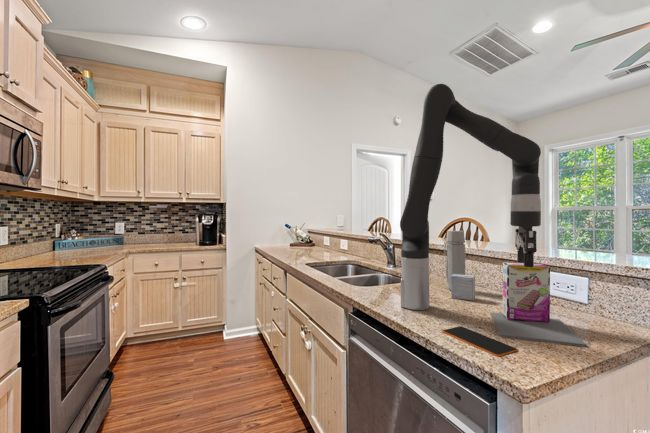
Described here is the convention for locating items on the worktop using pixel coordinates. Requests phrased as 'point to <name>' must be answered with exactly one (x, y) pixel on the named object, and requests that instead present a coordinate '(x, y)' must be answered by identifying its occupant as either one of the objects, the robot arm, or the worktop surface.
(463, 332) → the smartphone
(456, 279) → the medicine box
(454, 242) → the water bottle
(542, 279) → the candy bar box
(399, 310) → the worktop surface
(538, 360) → the worktop surface
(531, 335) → the rubber mat
